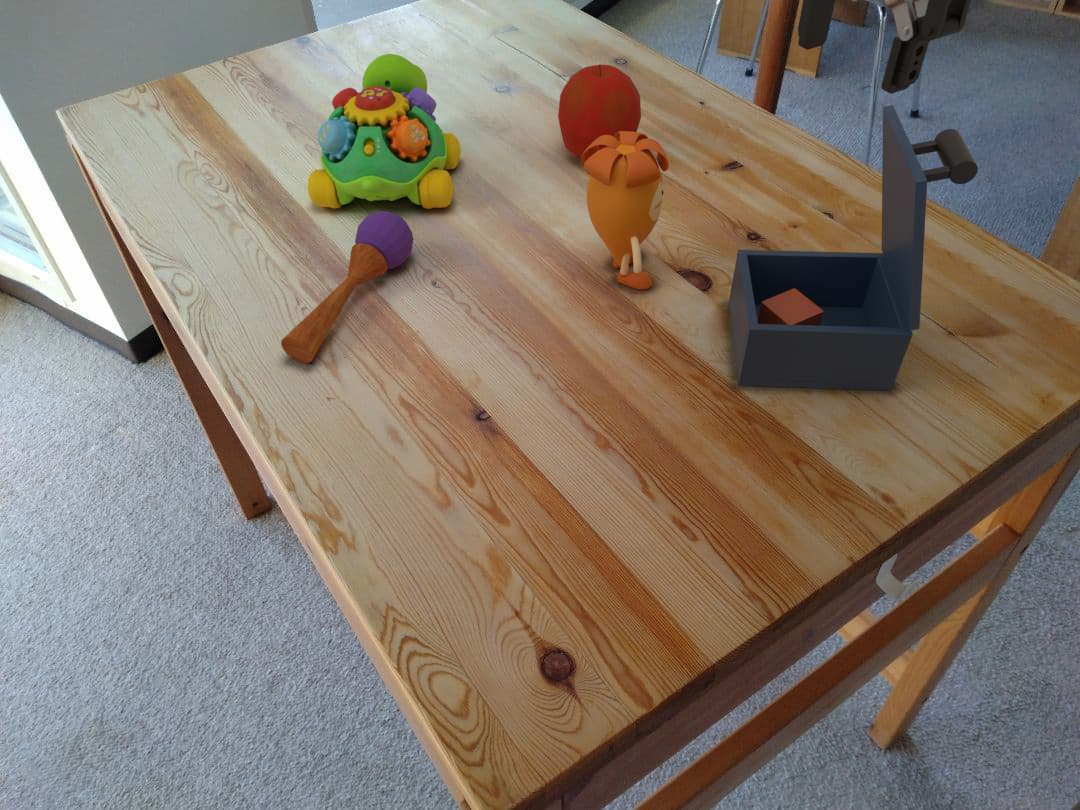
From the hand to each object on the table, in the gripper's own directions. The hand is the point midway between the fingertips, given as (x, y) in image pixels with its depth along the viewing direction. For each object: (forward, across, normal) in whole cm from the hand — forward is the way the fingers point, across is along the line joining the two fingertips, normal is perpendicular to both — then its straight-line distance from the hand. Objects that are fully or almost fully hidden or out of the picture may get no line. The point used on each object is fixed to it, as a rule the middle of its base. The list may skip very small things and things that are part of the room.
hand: (851, 66), depth 62 cm
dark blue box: (+27, -1, -2) cm, 27 cm away
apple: (+27, +40, -4) cm, 48 cm away
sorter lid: (+13, -4, -6) cm, 15 cm away
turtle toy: (+27, +49, +20) cm, 59 cm away
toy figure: (+27, +18, +8) cm, 33 cm away
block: (+26, 0, 0) cm, 26 cm away
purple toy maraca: (+27, +27, +33) cm, 51 cm away
